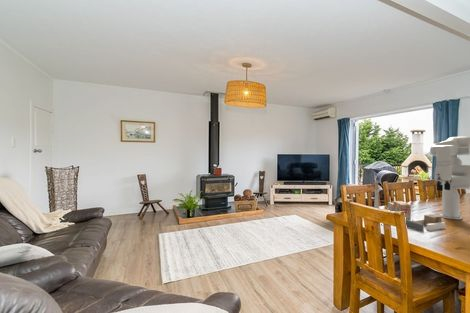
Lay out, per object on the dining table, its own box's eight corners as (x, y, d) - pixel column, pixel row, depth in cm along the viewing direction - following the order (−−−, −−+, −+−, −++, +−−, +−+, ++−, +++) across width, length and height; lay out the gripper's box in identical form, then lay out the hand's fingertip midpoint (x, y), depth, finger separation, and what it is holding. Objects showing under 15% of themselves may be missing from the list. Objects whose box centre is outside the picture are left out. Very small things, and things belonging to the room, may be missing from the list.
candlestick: (367, 218, 174) (368, 178, 173) (388, 221, 166) (388, 179, 165) (364, 222, 164) (364, 180, 163) (385, 226, 156) (386, 181, 155)
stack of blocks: (387, 213, 187) (387, 198, 187) (396, 213, 186) (396, 198, 186) (401, 221, 166) (401, 204, 166) (410, 222, 165) (411, 204, 165)
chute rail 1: (427, 223, 162) (427, 218, 162) (430, 223, 160) (430, 218, 160) (412, 225, 158) (412, 220, 158) (415, 226, 156) (415, 220, 156)
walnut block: (431, 224, 159) (431, 214, 159) (441, 227, 154) (441, 216, 154) (424, 225, 157) (424, 215, 157) (433, 228, 152) (434, 217, 152)
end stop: (407, 226, 156) (407, 220, 156) (423, 230, 146) (423, 224, 146) (405, 226, 155) (406, 220, 155) (421, 231, 146) (421, 224, 146)
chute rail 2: (441, 227, 153) (441, 221, 153) (445, 228, 151) (445, 222, 151) (426, 229, 149) (426, 224, 149) (429, 230, 147) (429, 224, 147)
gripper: (446, 163, 164) (446, 188, 164) (428, 163, 159) (428, 190, 159) (459, 163, 156) (458, 190, 157) (440, 164, 151) (440, 191, 152)
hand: (443, 189), depth 158 cm, fingers open, 6 cm apart
